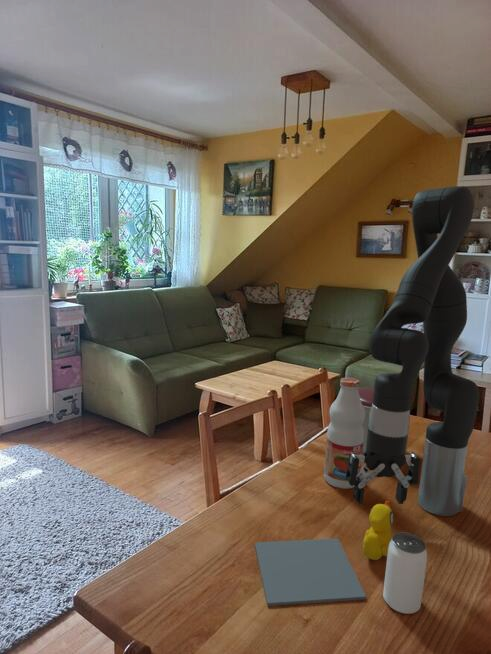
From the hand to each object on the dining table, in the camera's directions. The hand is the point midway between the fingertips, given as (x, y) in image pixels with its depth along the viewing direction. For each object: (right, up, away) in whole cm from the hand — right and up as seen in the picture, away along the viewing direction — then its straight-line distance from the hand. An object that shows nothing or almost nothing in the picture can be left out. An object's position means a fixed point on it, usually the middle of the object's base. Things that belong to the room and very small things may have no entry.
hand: (379, 502), depth 93 cm
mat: (-15, -12, -4) cm, 20 cm away
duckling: (0, -11, +2) cm, 12 cm away
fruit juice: (-1, -6, +30) cm, 30 cm away
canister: (+12, -2, +48) cm, 50 cm away
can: (+1, -14, -10) cm, 17 cm away
